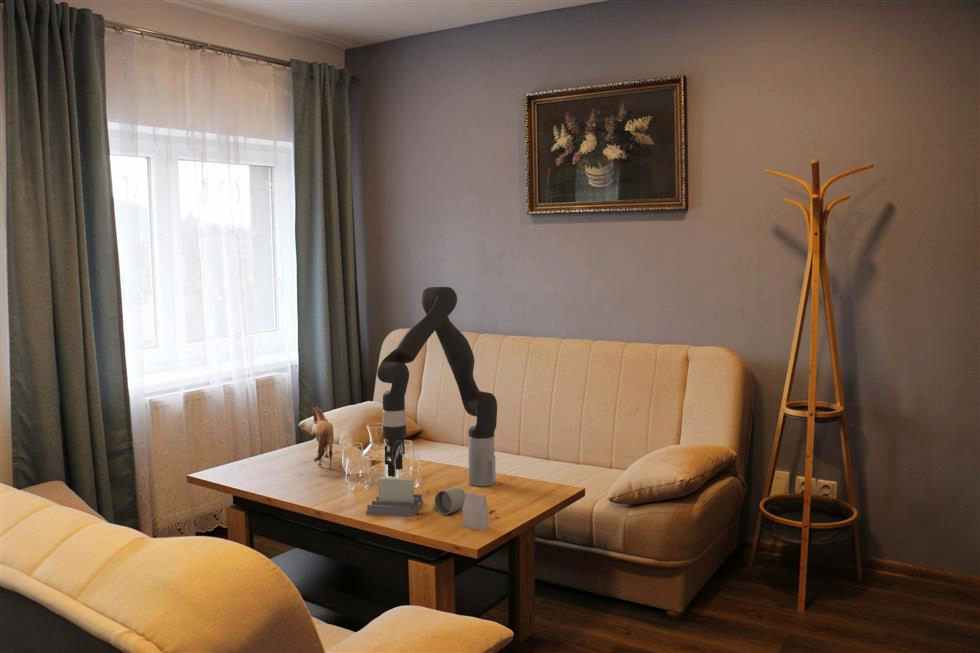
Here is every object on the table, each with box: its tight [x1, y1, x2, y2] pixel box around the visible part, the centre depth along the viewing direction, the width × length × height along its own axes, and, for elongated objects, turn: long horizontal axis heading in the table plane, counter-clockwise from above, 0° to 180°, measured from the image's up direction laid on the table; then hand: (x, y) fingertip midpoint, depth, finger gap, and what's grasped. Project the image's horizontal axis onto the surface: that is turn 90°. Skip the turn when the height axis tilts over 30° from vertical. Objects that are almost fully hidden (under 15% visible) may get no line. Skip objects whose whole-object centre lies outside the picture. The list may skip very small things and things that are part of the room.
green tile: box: [378, 476, 415, 503], centre depth 267 cm, size 11×2×9 cm, turn 80°
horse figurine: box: [311, 406, 335, 469], centre depth 325 cm, size 31×8×21 cm, turn 13°
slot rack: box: [365, 493, 424, 518], centre depth 267 cm, size 15×14×3 cm
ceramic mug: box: [432, 487, 466, 516], centre depth 265 cm, size 11×8×8 cm
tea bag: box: [462, 492, 489, 531], centre depth 249 cm, size 4×7×10 cm, turn 58°
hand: (395, 472), depth 267 cm, fingers open, 8 cm apart
